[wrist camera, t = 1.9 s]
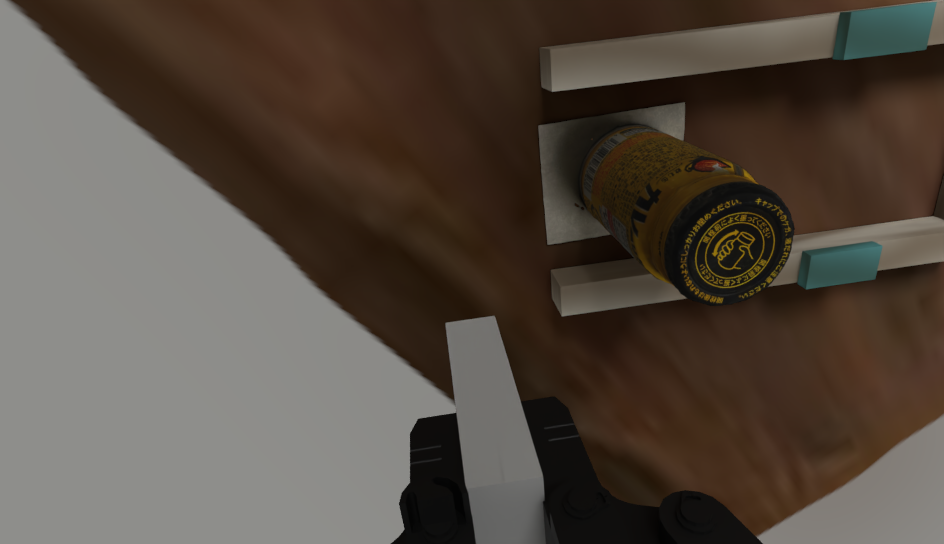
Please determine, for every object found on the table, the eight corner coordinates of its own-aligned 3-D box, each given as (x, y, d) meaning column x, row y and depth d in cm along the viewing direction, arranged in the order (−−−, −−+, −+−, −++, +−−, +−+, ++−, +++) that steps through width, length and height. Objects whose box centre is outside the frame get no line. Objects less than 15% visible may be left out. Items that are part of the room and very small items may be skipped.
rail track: (539, 45, 29) (553, 47, 26) (1017, -12, 30) (1084, -16, 27) (552, 299, 35) (565, 324, 32) (948, 242, 37) (996, 261, 34)
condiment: (680, 222, 34) (807, 313, 23) (546, 243, 34) (611, 346, 23) (683, 101, 31) (831, 141, 20) (536, 124, 31) (606, 177, 20)
